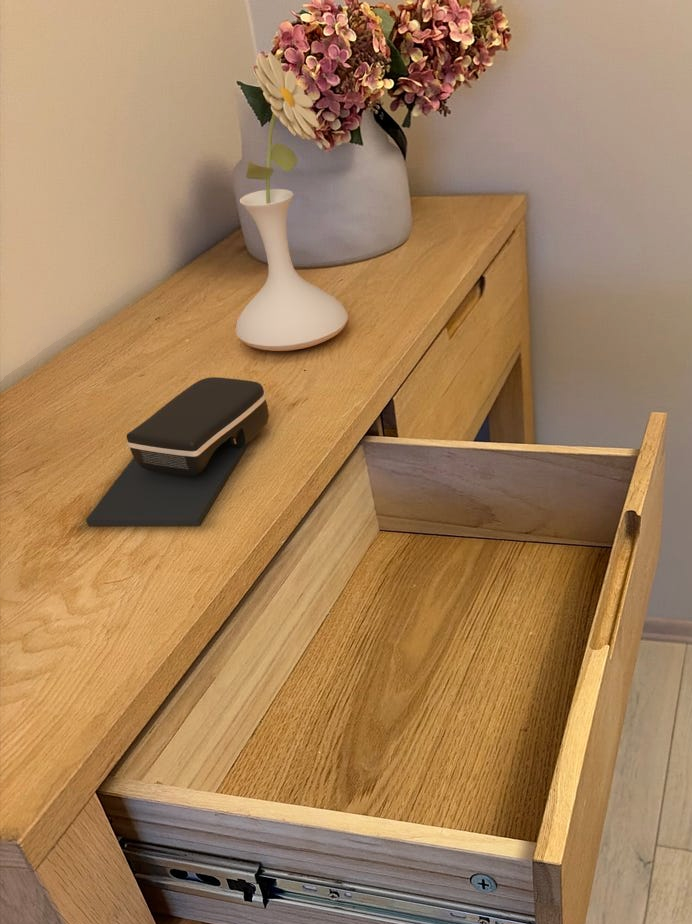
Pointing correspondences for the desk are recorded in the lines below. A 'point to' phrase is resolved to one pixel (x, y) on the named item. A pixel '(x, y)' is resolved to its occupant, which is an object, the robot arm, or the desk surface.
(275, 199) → the flower in vase
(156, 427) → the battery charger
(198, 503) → the mat
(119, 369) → the desk surface
